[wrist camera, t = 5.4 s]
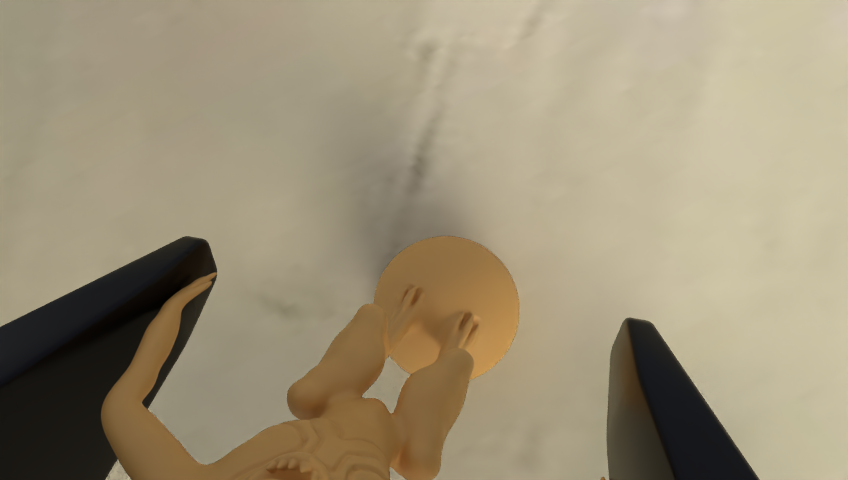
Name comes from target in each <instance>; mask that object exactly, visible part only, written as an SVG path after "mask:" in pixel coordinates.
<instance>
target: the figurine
mask: <svg viewBox="0 0 848 480" xmlns="http://www.w3.org/2000/svg"><path fill="white" fill-rule="evenodd" d="M216 275H217V273H216V272H214V273H211V274H209V275H207V276H204V277H201V278H199V279H197V280H195V281H194V282H192V283H191V284H190V285H188V286H187V287H185V288H183V289H181V290H180V291H178V292H177V293H176V294H174V295H173V296H172V297H171V298H170V299H168V300H167V301H166V302H165V303H164V305H163V306H162V308H161V310H160V311H159V313H158V314H157V316H156V317H155V318H154V319H153V320H152V322H151V323H150V324H149V326H148V327H147V329H146V331H145V333H144V335H143V338H142V340H141V343H140V345H139V347H138V349H137V351H136V354H135V356H134V358H133V360H132V362H131V364H130V366H129V367H128V369H127V370H126V371H125V373H124V374H123V375H122V376H121V377H120V379H119V380H118V381H117V382H116V384H115V385H114V386H113V387H112V389H111V390H110V392H109V393H108V395H107V396H106V398H105V400H104V402H103V405H102V409H101V421H102V426H103V429H104V432H105V435H106V437H107V439H108V441H109V443H110V445H111V447H112V449H113V451H114V452H115V454H116V456H117V458H118V460H119V461H120V463H121V465H122V467H123V468H124V470H125V471H126V473H127V474H128V475H129V477H130V478H131V479H132V480H390V471H389V468H390V467H392V468H393V469H394V470H395V471H396V472H397V473H399V474H400V475H401V476H403V477H404V478H405V479H407V480H432V479H433V478H435V477H436V475H437V474H438V472H439V470H440V466H441V455H442V449H443V444H444V441H445V438H446V436H447V434H448V432H449V430H450V429H451V427H452V426H453V424H454V423H455V421H456V419H457V417H458V415H459V413H460V411H461V409H462V407H463V404H464V400H465V396H466V391H467V387H468V383H469V380H470V379H473V378H476V377H478V376H480V375H482V374H483V373H485V372H487V371H488V370H490V369H491V368H492V367H493V366H494V365H496V364H497V363H498V362H499V361H500V360H501V358H502V357H503V356H504V355H505V353H506V352H507V350H508V349H509V347H510V345H511V343H512V341H513V339H514V337H515V334H516V331H517V327H518V322H519V299H518V294H517V290H516V287H515V284H514V281H513V279H512V277H511V275H510V273H509V272H508V270H507V268H506V267H505V266H504V264H503V263H502V262H501V261H500V260H499V259H498V258H497V257H496V256H495V255H494V254H493V253H492V252H491V251H489V250H488V249H486V248H485V247H483V246H481V245H480V244H478V243H475V242H473V241H470V240H467V239H464V238H460V237H453V236H439V237H432V238H428V239H424V240H421V241H419V242H416V243H414V244H412V245H410V246H409V247H407V248H405V249H404V250H403V251H401V252H400V253H399V254H398V255H397V256H396V257H395V258H394V259H393V260H392V261H391V262H390V263H389V264H388V266H387V267H386V269H385V270H384V272H383V273H382V275H381V277H380V279H379V282H378V284H377V287H376V291H375V295H374V302H373V304H365V305H363V306H362V307H361V308H360V309H359V310H358V311H357V313H356V314H355V316H354V318H353V319H352V320H351V322H350V323H349V324H348V325H347V326H346V327H345V328H344V329H343V330H342V331H341V332H340V333H339V334H338V335H337V336H336V337H335V339H334V340H333V342H332V343H331V345H330V346H329V348H328V350H327V351H326V353H325V355H324V357H323V358H322V360H321V361H320V363H319V364H318V365H317V366H316V367H314V368H313V369H312V370H310V371H309V372H308V373H307V374H306V375H305V376H304V377H302V378H301V379H300V380H298V381H296V382H295V383H294V384H293V385H292V386H291V387H290V388H289V390H288V393H287V403H288V407H289V409H290V411H291V413H292V414H293V415H294V416H295V417H296V418H298V419H300V420H293V421H287V422H283V423H280V424H278V425H275V426H271V427H269V428H267V429H265V430H263V431H261V432H260V433H258V434H257V435H256V436H254V437H253V438H251V439H250V440H248V441H246V442H245V443H243V444H241V445H240V446H238V447H237V448H235V449H234V450H232V451H231V452H230V453H228V454H227V455H226V456H224V457H223V458H221V459H220V460H218V461H217V462H215V463H212V464H209V465H204V464H200V463H198V462H197V461H196V460H194V459H193V458H192V457H191V455H190V454H189V453H188V452H187V451H186V450H185V448H184V447H183V446H182V445H181V444H180V442H179V441H178V440H177V439H176V438H175V437H174V436H173V435H172V434H171V432H170V431H169V430H168V429H167V428H166V427H165V426H164V425H163V424H162V423H161V422H160V421H159V420H158V419H157V418H156V417H155V416H154V415H153V414H152V413H151V412H150V411H149V410H147V409H146V408H145V407H144V406H143V404H142V401H143V399H144V398H145V397H146V396H147V395H148V393H149V392H150V391H151V389H152V388H153V386H154V384H155V382H156V379H157V376H158V373H159V371H160V369H161V367H162V365H163V363H164V362H165V360H166V359H167V357H168V355H169V354H170V352H171V349H172V347H173V345H174V342H175V340H176V337H177V335H178V331H179V326H180V320H181V311H182V309H183V308H184V306H185V305H186V304H187V303H188V302H189V301H190V300H192V299H193V298H194V297H195V296H197V295H198V294H200V293H201V292H203V291H204V290H206V289H207V288H208V287H209V286H210V285H211V284H212V281H210V280H211V279H212V278H213V277H215V276H216ZM388 356H390V357H391V358H392V359H393V360H394V362H396V363H397V364H398V365H399V366H400V367H401V368H402V369H404V370H405V371H407V372H408V373H410V374H411V375H410V376H409V378H408V379H407V380H406V382H405V383H404V385H403V387H402V390H401V392H400V395H399V398H398V402H397V406H396V408H395V411H394V412H393V413H389V411H388V410H387V408H386V406H385V404H384V403H383V402H382V401H380V400H378V399H375V398H362V395H363V393H365V391H366V390H367V389H368V388H369V387H370V386H371V385H372V384H373V383H374V382H375V381H376V379H377V378H378V377H379V375H380V373H381V371H382V369H383V366H384V362H385V359H386V358H387V357H388ZM601 480H605V478H604V477H602V478H601Z"/></svg>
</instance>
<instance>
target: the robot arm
mask: <svg viewBox="0 0 848 480" xmlns="http://www.w3.org/2000/svg"><path fill="white" fill-rule="evenodd" d="M214 272H216V273H217V268H216V264H215V261H214V258H213V255H212V252H211V249H210V246H209V243H208V242H207V241H206V240H204V239H201V238H195V237H190V236H185V237H182V238H180V239H178V240H176V241H174V242H172V243H170V244H168V245H166V246H164V247H162V248H160V249H158V250H156V251H154V252H152V253H149V254H147V255H145V256H143V257H141V258H139V259H137V260H135V261H133V262H131V263H129V264H127V265H125V266H123V267H121V268H119V269H117V270H115V271H113V272H111V273H109V274H107V275H105V276H103V277H101V278H99V279H97V280H95V281H93V282H91V283H89V284H87V285H85V286H83V287H81V288H79V289H76V290H74V291H72V292H70V293H68V294H66V295H64V296H62V297H60V298H58V299H56V300H54V301H52V302H50V303H48V304H46V305H44V306H42V307H40V308H38V309H36V310H34V311H32V312H30V313H28V314H26V315H24V316H22V317H20V318H18V319H16V320H13V321H11V322H9V323H7V324H5V325H3V326H1V327H0V480H105V479H106V477H107V476H108V474H109V472H110V471H111V469H112V467H113V466H114V464H115V462H116V461H117V459H118V458H117V456H116V454H115V452H114V451H113V449H112V447H111V445H110V443H109V441H108V439H107V437H106V435H105V432H104V429H103V426H102V421H101V409H102V405H103V402H104V400H105V398H106V396H107V395H108V393H109V392H110V390H111V389H112V387H113V386H114V385H115V384H116V382H117V381H118V380H119V379H120V377H121V376H122V375H123V374H124V373H125V371H126V370H127V369H128V367H129V366H130V364H131V362H132V360H133V358H134V356H135V354H136V351H137V349H138V347H139V345H140V343H141V340H142V338H143V335H144V333H145V331H146V329H147V327H148V326H149V324H150V323H151V322H152V320H153V319H154V318H155V317H156V316H157V314H158V313H159V311H160V310H161V308H162V306H163V305H164V303H165V302H166V301H167V300H168V299H170V298H171V297H172V296H173V295H174V294H176V293H177V292H178V291H180V290H181V289H183V288H185V287H187V286H188V285H190V284H191V283H192V282H194V281H195V280H197V279H199V278H201V277H204V276H207V275H209V274H211V273H214ZM216 277H217V275H216V276H215V277H213V278H212V279H211V280H210V281H212V284H211V285H210V286H209V287H208V288H207V289H206V290H204V291H203V292H201V293H200V294H198V295H197V296H195V297H194V298H193V299H192V300H190V301H189V302H188V303H187V304H186V305H185V306H184V308H183V309H182V311H181V320H180V326H179V331H178V335H177V337H176V340H175V342H174V345H173V347H172V349H171V352H170V354H169V355H168V357H167V359H166V360H165V362H164V363H163V365H162V367H161V369H160V371H159V373H158V376H157V379H156V382H155V384H154V386H153V388H152V389H151V391H150V392H149V393H148V395H147V396H146V397H145V398H144V399H143V401H142V404H143V406H144V407H145V408H146V409H148V407H149V406H150V404H151V402H152V401H153V399H154V397H155V396H156V394H157V392H158V391H159V389H160V387H161V386H162V384H163V382H164V381H165V379H166V377H167V376H168V374H169V372H170V371H171V369H172V367H173V366H174V364H175V362H176V361H177V359H178V357H179V356H180V354H181V352H182V350H183V349H184V347H185V345H186V343H187V341H188V339H189V337H190V335H191V333H192V331H193V329H194V327H195V324H196V322H197V320H198V318H199V316H200V314H201V311H202V309H203V307H204V305H205V303H206V301H207V298H208V296H209V294H210V292H211V290H212V288H213V285H214V283H215V281H216ZM607 455H608V469H609V480H759V478H758V477H757V475H756V474H755V472H754V471H753V469H752V468H751V466H750V465H749V464H748V462H747V461H746V459H745V458H744V456H743V455H742V453H741V452H740V450H739V449H738V447H737V446H736V445H735V443H734V442H733V440H732V439H731V437H730V436H729V434H728V433H727V431H726V430H725V429H724V427H723V426H722V424H721V423H720V421H719V420H718V418H717V417H716V415H715V414H714V412H713V411H712V410H711V408H710V407H709V405H708V404H707V402H706V401H705V399H704V398H703V396H702V395H701V394H700V392H699V391H698V389H697V388H696V386H695V385H694V383H693V382H692V380H691V379H690V377H689V376H688V375H687V373H686V372H685V370H684V369H683V367H682V366H681V364H680V363H679V361H678V360H677V359H676V357H675V356H674V354H673V353H672V351H671V350H670V348H669V347H668V345H667V344H666V342H665V341H664V340H663V338H662V337H661V335H660V334H659V332H658V331H657V329H656V328H655V326H654V325H653V324H652V323H651V322H649V321H646V320H641V319H635V318H626V319H625V320H624V321H623V323H622V326H621V328H620V330H619V333H618V335H617V337H616V340H615V342H614V344H613V347H612V351H611V357H610V374H609V395H608V415H607Z"/></svg>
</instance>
